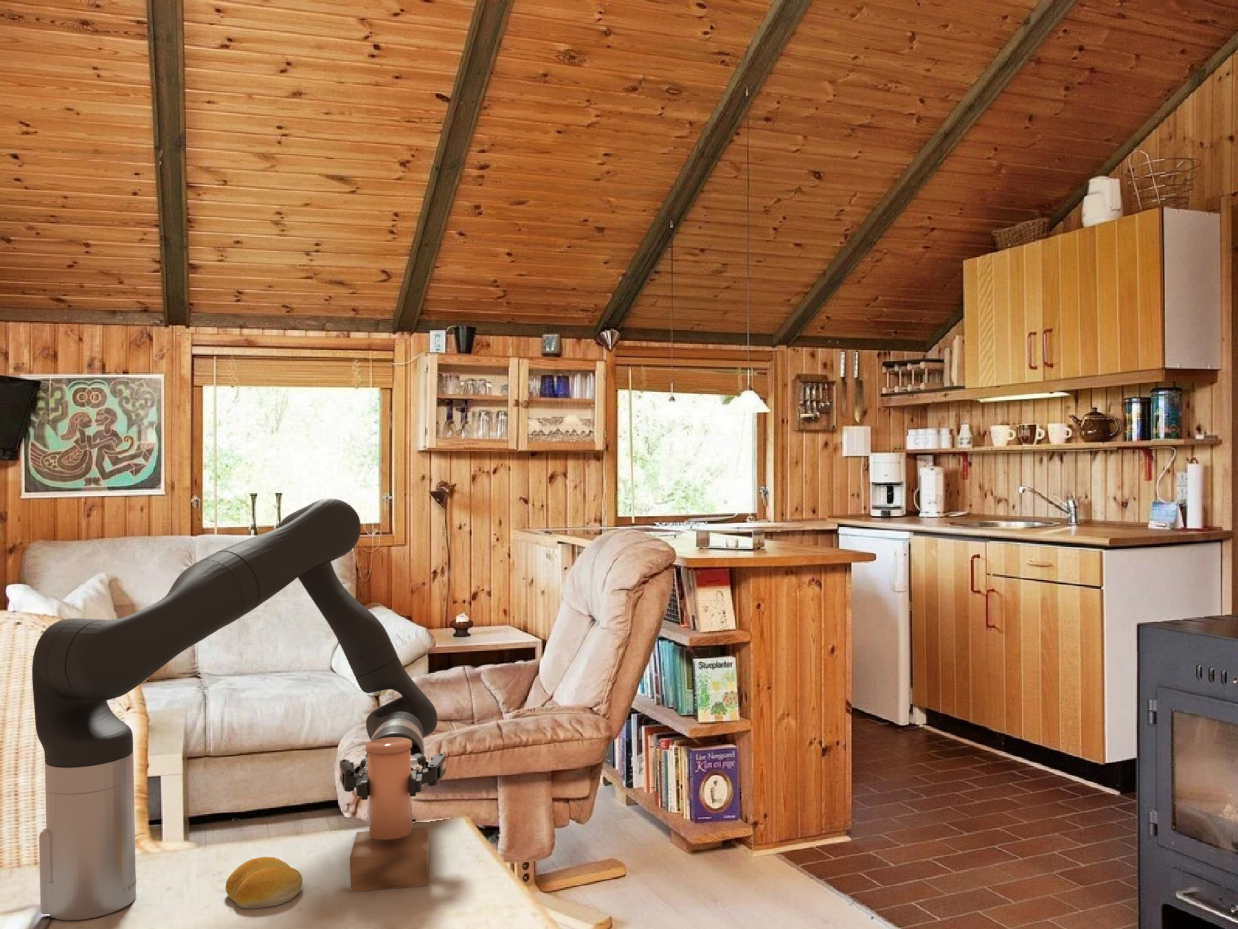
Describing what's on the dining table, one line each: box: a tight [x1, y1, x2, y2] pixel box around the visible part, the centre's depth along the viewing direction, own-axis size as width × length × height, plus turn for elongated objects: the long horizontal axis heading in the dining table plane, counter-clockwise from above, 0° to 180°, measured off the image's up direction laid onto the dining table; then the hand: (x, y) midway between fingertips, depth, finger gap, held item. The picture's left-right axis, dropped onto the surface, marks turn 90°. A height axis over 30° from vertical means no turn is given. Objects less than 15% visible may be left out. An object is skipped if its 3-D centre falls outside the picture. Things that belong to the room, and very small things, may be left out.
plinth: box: [349, 826, 430, 893], centre depth 129 cm, size 9×9×4 cm
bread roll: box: [225, 856, 303, 909], centre depth 124 cm, size 8×9×4 cm
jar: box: [365, 737, 413, 840], centre depth 129 cm, size 6×6×11 cm
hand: (388, 790), depth 126 cm, fingers closed on jar, 5 cm apart
